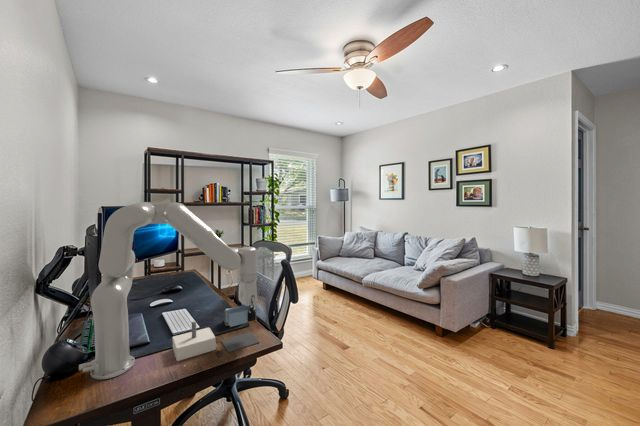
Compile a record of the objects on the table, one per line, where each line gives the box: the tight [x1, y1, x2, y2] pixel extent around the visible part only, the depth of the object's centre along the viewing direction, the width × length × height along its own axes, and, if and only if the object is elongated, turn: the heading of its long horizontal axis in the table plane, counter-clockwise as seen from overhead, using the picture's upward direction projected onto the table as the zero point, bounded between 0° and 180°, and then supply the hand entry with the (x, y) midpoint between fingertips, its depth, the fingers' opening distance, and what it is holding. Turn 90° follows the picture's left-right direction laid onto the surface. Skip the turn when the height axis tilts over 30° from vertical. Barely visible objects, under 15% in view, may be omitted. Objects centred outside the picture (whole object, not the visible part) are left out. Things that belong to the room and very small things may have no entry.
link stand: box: [172, 321, 217, 362], centre depth 111 cm, size 14×10×11 cm
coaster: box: [220, 331, 260, 353], centre depth 117 cm, size 13×10×1 cm
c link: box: [225, 303, 252, 328], centre depth 116 cm, size 11×6×5 cm, turn 126°
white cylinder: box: [223, 307, 231, 327], centre depth 134 cm, size 11×8×8 cm
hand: (248, 317), depth 118 cm, fingers closed on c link, 6 cm apart
